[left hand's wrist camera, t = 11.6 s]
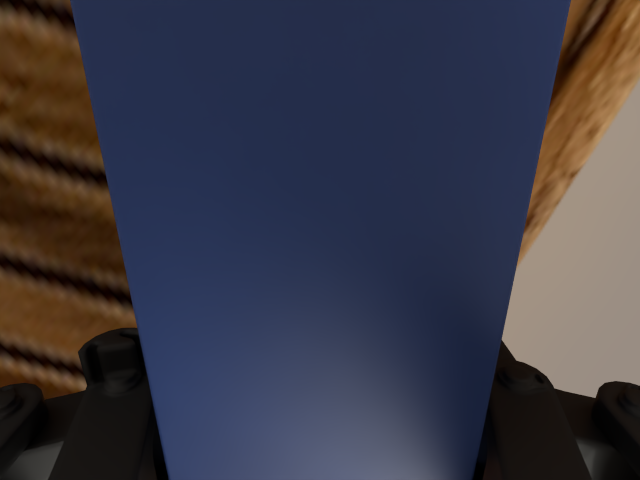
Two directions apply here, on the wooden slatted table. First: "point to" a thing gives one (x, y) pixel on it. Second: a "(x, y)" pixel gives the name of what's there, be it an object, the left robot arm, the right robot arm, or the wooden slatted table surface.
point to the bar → (320, 220)
